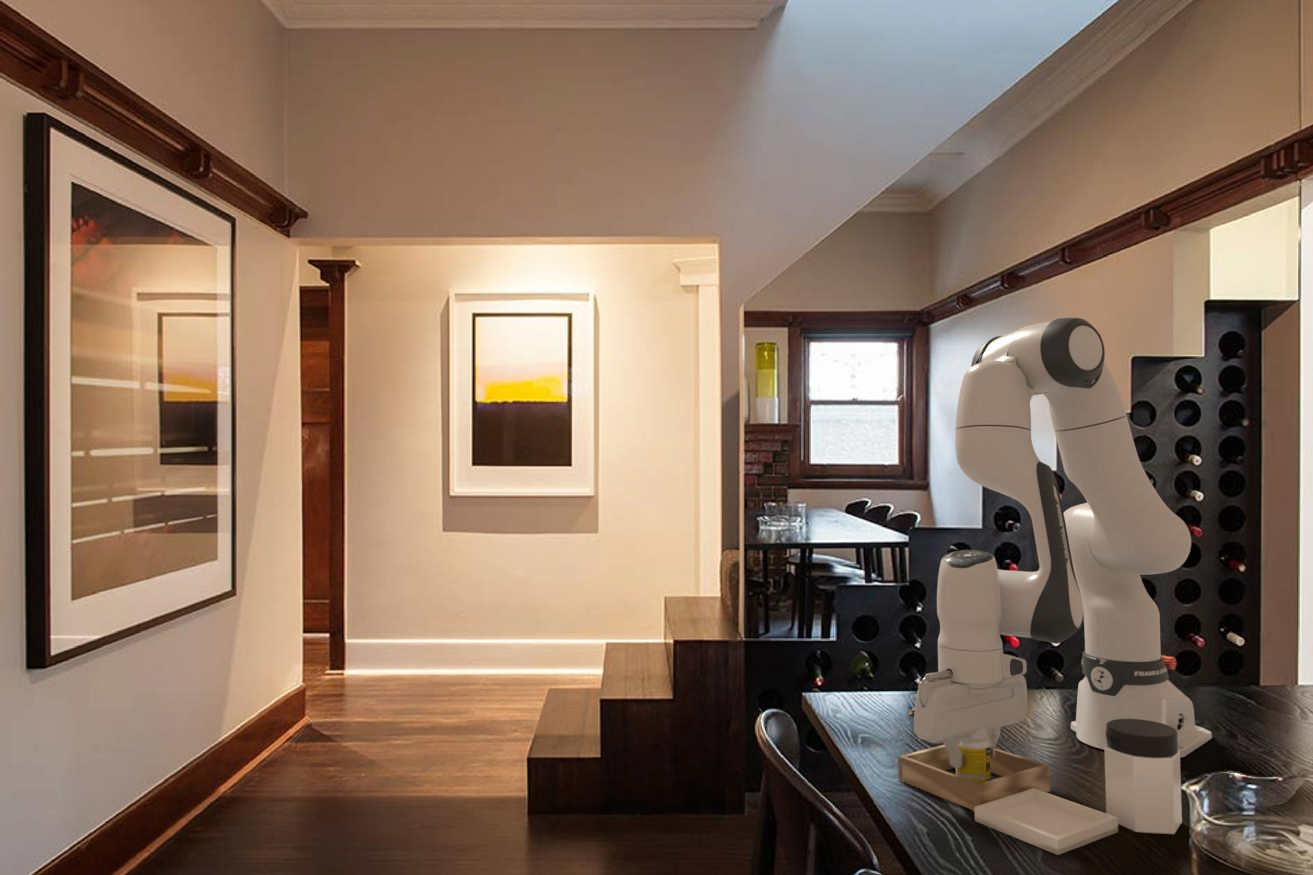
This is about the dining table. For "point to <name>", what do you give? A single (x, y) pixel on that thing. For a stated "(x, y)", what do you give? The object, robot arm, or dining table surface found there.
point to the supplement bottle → (975, 757)
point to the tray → (1046, 820)
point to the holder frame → (932, 777)
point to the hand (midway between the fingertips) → (972, 762)
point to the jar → (1143, 775)
